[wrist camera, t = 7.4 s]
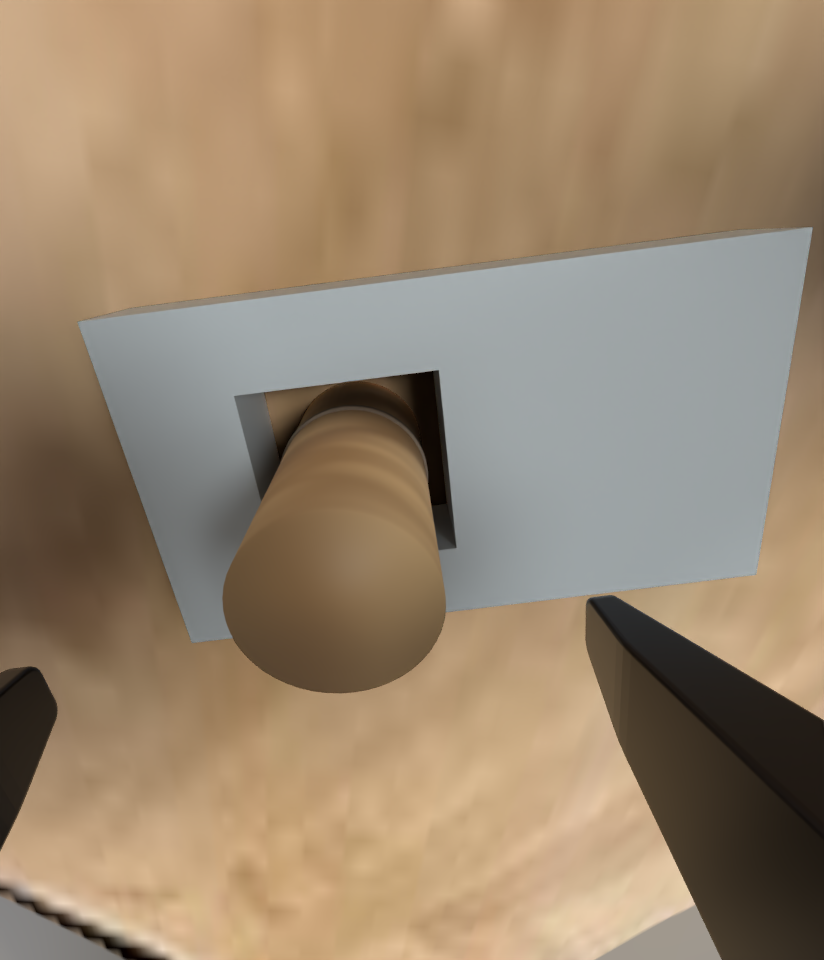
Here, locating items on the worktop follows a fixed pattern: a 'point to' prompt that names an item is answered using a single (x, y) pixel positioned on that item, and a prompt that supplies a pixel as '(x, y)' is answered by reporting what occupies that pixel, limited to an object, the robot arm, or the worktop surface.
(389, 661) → the peg
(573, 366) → the board
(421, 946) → the worktop surface
